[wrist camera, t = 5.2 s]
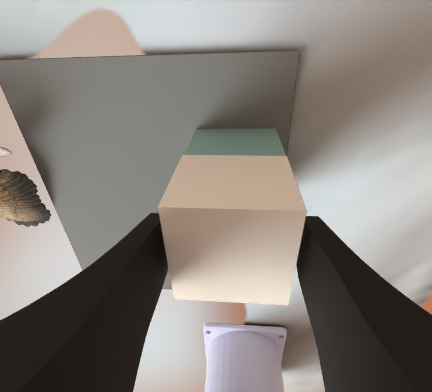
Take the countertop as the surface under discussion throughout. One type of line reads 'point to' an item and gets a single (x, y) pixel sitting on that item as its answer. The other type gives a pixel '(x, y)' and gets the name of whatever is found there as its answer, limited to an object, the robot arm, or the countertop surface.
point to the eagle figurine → (20, 198)
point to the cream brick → (232, 228)
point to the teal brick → (236, 142)
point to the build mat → (135, 127)
